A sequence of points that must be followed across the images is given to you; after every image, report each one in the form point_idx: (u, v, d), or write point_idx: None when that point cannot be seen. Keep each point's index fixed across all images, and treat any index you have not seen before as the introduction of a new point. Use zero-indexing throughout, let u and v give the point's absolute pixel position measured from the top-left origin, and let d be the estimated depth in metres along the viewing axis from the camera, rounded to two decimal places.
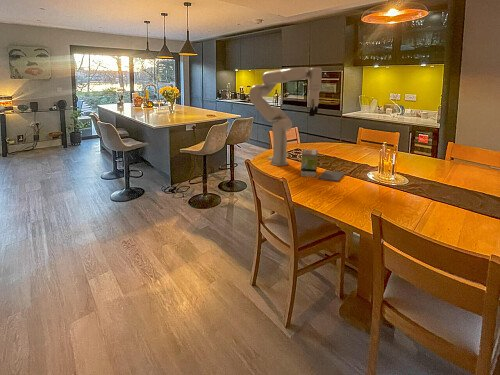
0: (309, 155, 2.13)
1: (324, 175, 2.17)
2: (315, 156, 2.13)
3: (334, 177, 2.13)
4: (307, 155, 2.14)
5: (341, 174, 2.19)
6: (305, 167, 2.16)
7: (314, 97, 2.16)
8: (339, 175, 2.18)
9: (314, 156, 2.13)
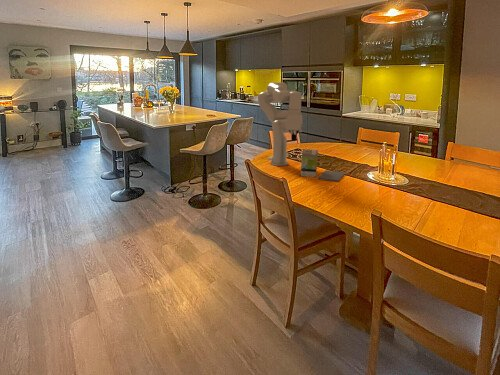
0: (309, 155, 2.13)
1: (324, 175, 2.17)
2: (315, 156, 2.13)
3: (334, 177, 2.13)
4: (307, 155, 2.14)
5: (341, 174, 2.19)
6: (305, 167, 2.16)
7: None
8: (339, 175, 2.18)
9: (314, 156, 2.13)
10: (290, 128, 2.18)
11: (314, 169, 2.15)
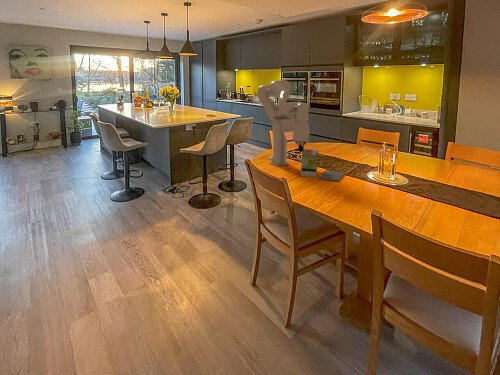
0: (309, 155, 2.13)
1: (324, 175, 2.17)
2: (315, 156, 2.13)
3: (334, 177, 2.13)
4: (307, 155, 2.14)
5: (341, 174, 2.19)
6: (305, 167, 2.16)
7: (309, 132, 2.17)
8: (339, 175, 2.18)
9: (314, 156, 2.13)
10: (297, 139, 2.18)
11: (314, 169, 2.15)
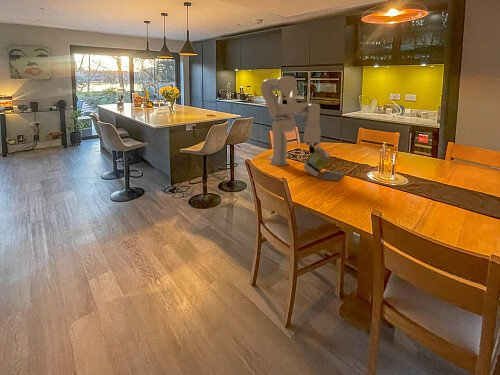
0: (322, 155, 2.12)
1: (324, 175, 2.17)
2: (327, 159, 2.12)
3: (334, 177, 2.13)
4: (321, 154, 2.12)
5: (341, 174, 2.19)
6: (312, 163, 2.14)
7: (320, 133, 2.14)
8: (339, 175, 2.18)
9: (326, 158, 2.12)
10: (308, 140, 2.15)
11: (319, 170, 2.15)
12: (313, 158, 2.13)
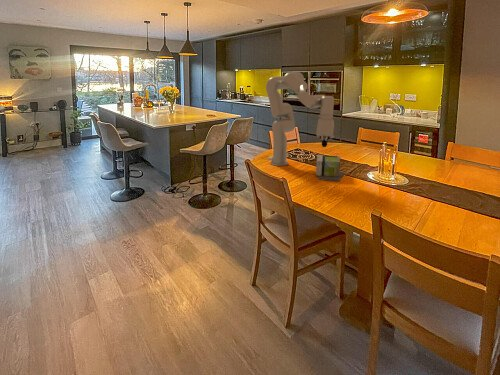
0: (338, 169, 2.12)
1: None
2: (337, 174, 2.14)
3: (334, 177, 2.13)
4: (338, 167, 2.12)
5: (341, 174, 2.19)
6: (326, 165, 2.13)
7: None
8: (339, 175, 2.18)
9: (337, 173, 2.13)
10: (321, 134, 2.10)
11: (323, 174, 2.15)
12: (331, 163, 2.12)
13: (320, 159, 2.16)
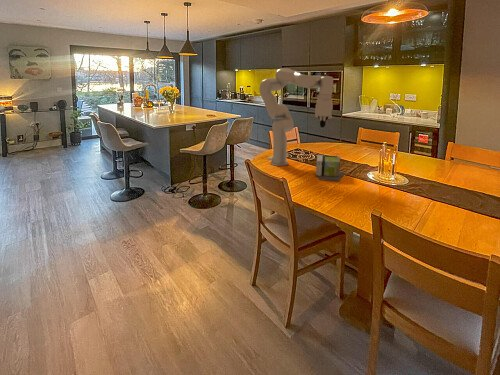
0: (338, 169, 2.12)
1: None
2: (337, 174, 2.14)
3: (334, 177, 2.13)
4: (338, 167, 2.12)
5: (341, 174, 2.19)
6: (326, 165, 2.13)
7: (332, 106, 2.12)
8: (339, 175, 2.18)
9: (337, 173, 2.13)
10: (319, 114, 2.13)
11: (323, 174, 2.15)
12: (331, 163, 2.12)
13: (320, 159, 2.16)
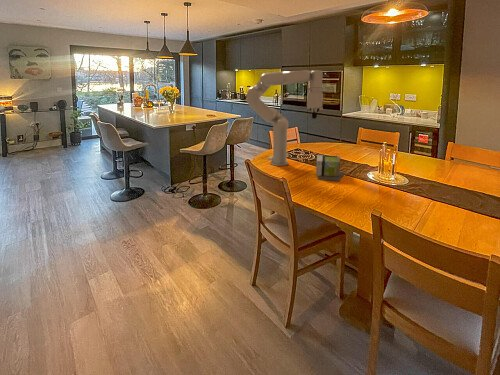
0: (338, 169, 2.12)
1: None
2: (337, 174, 2.14)
3: (334, 177, 2.13)
4: (338, 167, 2.12)
5: (341, 174, 2.19)
6: (326, 165, 2.13)
7: None
8: (339, 175, 2.18)
9: (337, 173, 2.13)
10: (311, 106, 2.27)
11: (323, 174, 2.15)
12: (331, 163, 2.12)
13: (320, 159, 2.16)
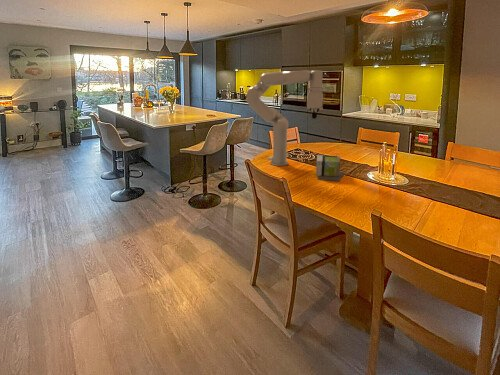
0: (338, 169, 2.12)
1: None
2: (337, 174, 2.14)
3: (334, 177, 2.13)
4: (338, 167, 2.12)
5: (341, 174, 2.19)
6: (326, 165, 2.13)
7: (322, 98, 2.26)
8: (339, 175, 2.18)
9: (337, 173, 2.13)
10: (311, 106, 2.27)
11: (323, 174, 2.15)
12: (331, 163, 2.12)
13: (320, 159, 2.16)
